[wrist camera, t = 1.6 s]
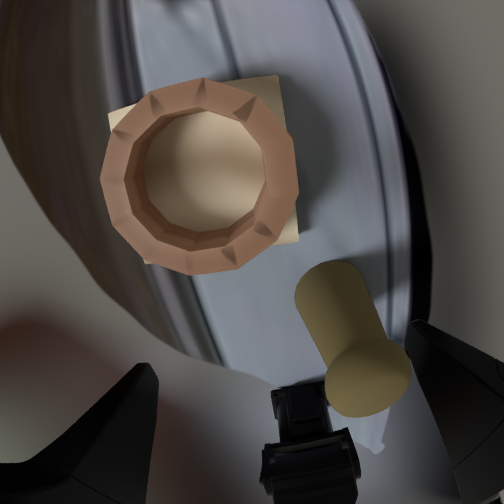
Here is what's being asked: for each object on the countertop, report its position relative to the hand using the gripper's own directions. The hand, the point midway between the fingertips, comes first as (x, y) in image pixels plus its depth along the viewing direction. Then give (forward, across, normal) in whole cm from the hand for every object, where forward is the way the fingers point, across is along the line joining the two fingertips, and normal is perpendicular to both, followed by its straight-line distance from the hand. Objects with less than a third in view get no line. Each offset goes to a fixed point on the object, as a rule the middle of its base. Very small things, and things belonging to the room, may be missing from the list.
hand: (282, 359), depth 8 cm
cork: (+12, -5, +6) cm, 15 cm away
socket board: (+12, +3, -5) cm, 13 cm away
